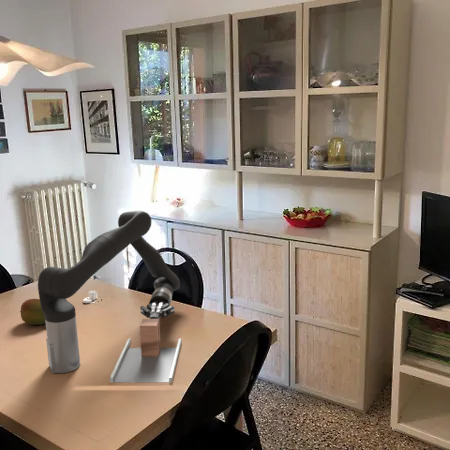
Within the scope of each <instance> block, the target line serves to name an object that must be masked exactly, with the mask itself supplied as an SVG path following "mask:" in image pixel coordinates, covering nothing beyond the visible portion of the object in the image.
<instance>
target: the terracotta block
mask: <svg viewBox="0 0 450 450" xmlns="http://www.w3.org/2000/svg"><path fill="white" fill-rule="evenodd" d="M160 326H161V325H160V318H159V319H150V318H143V319H142V320H141V323H140V324H139V335H140V348H141V354H142V357H158V356H159V353H160V350H161V348H162V347H161V346H162V345H161V330H160V329H161V327H160Z"/></svg>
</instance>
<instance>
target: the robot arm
mask: <svg viewBox="0 0 450 450" xmlns="http://www.w3.org/2000/svg"><path fill="white" fill-rule="evenodd" d="M117 220H118V221H117V225H118V227H116V228H114V229H111V230H109V231H105V232H104V233H102V234H100V235H98V236H96V237H95V238H94V239H93V240H91V241H89V243H87V244H86V245H85V246H84V250H83V252H82V255H81V259H80V260H79V261H78V262H76V264H74V265H72V266H71V267H68V268H63V267H57V266H48V267H45V268H44V269H42V270H41V272H40V273H39V275H38V279H37V290H38V299H40V304H41V309H42V312H43V313H44V315H45V322H46V323H45V328H46V329H45V331H46V348H47V359H48V365H49V368H50V371H51V374H66V373H70V372H73V371H75V370H77V369H78V368H79V367H80V366H81V357H80V347H79V337H78V335H79V334H78V329H77V328H78V326H77V314H76V308H75V306H74V304H72V303H71V302H70V301H68V300H67V299H69V298H71V297H73V296H74V295H75V294H76V293H77V292H78V291H79V290H80V289H81V288H82V287H83V286H84V285H85V284H86V283H87V281H88V280H89V279H91V278H92V277H93V276H94V275H95V274H96V273H97V272H99V270H100V269H102V268H103V267H104V266H105V265H107V264H108V263H110V262H111V261H112V260H113V259H114V258H115V257H116V256H118V255H119V254H120V253H121V252H123V251H124V250H125V249H126V248H127V247H129V245H131V246H132V248H133V249H134V250H135V251H136V252H137V253H138V255H139V256H140V258H141V259H142V261H143V262H144V264H145V266H146V268H147V269H148V271H149V273H150V274H151V276H152V277H153V278H157V279H155V280H154V282H153V287H154V291H153V292H152V295H151V297H150V300H149V303H148V304H147V305H146V306H144V305H141V306H139V307H140V314H141V315H143V316H145V318H146V319H159V320H160V318H163V319H164V318H166V317H168V316H170V315H173V314H175V311H176V310H175V305H171V304H172V299H173V294H174V292H175V291H177V290H179V289H180V287H181V282H180V279H179V277H178V276H177V274H176V273H175V272H174V271H172V270H171V269H170V267H168V266H167V263H166V261H165V260H164V258H163V257H162V255H161V253H160V252H159V251H158V249H156V248H155V247H154V246H153V245H151V244H150V243H149V242H147V241H146V239H144V237H143V236H145V235H146V234H147V233H148V232H149V231H150V229H151V227H152V217H151V215H150V214H149V213H148V212H147V211H143V210H134V211H133V210H132V211H125V212H123V213H121V214H120V215H119V217H118V219H117Z"/></svg>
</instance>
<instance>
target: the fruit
mask: <svg viewBox="0 0 450 450" xmlns="http://www.w3.org/2000/svg"><path fill="white" fill-rule="evenodd" d="M19 313H20V316H21V317H20V318H21V320H22V321H23V322H24V323H25V324H28V325H34V326H35V325H36V326H37V325H38V326H39V325H44V324H46V322H45V315H44V313H43V312H42V309H41V304H40V298H29V299H27V300H25V301H23V302H22V303H21V306H20V311H19Z"/></svg>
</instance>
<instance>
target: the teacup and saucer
mask: <svg viewBox="0 0 450 450" xmlns="http://www.w3.org/2000/svg"><path fill="white" fill-rule="evenodd" d="M97 296H98V290H89V291H88V296H87V297H86V298H83V300H82V302H83V303H85V304H94V303H95V302H96V299H97V298H98V297H97ZM87 298H88V299H87ZM92 300H93V301H92Z"/></svg>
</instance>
